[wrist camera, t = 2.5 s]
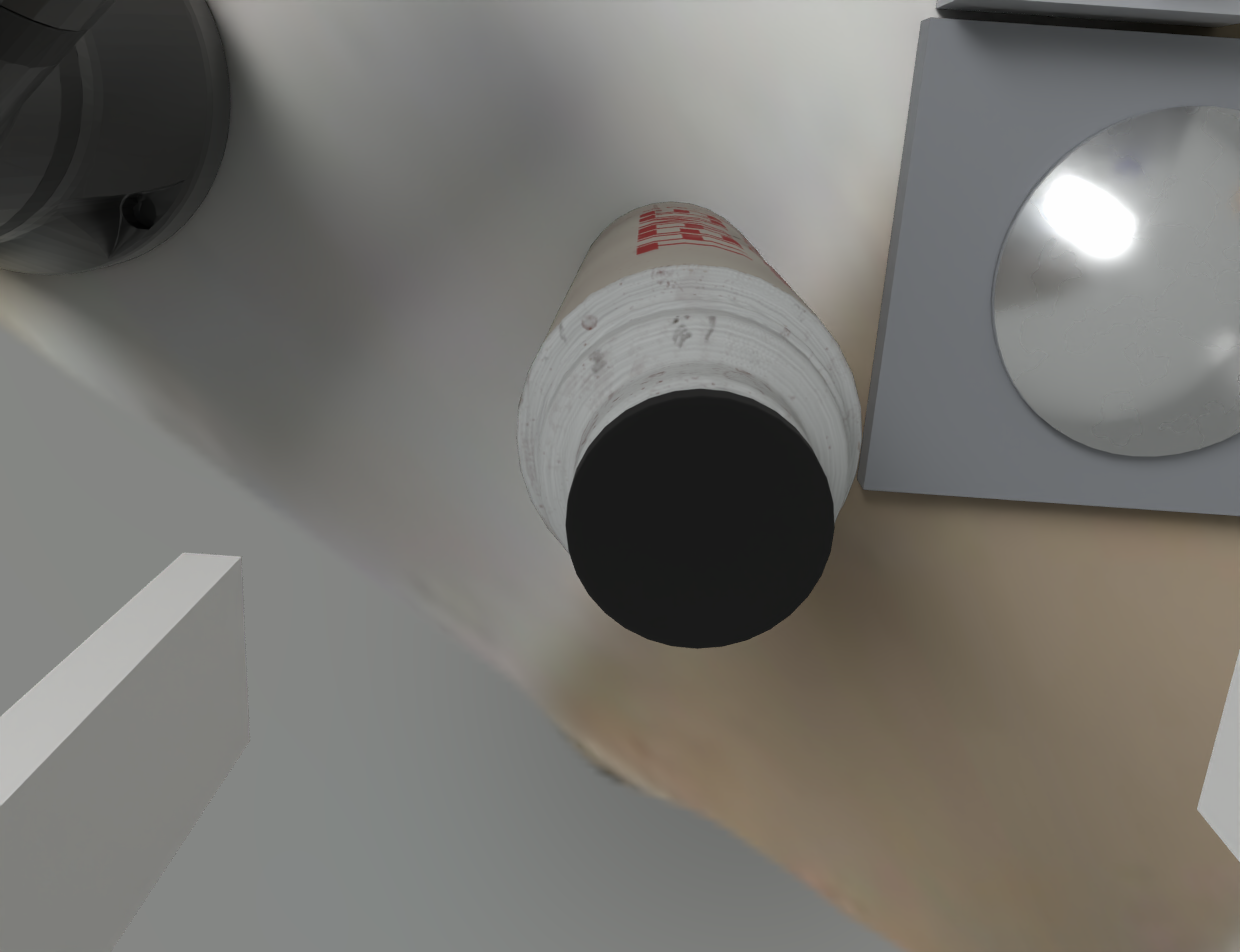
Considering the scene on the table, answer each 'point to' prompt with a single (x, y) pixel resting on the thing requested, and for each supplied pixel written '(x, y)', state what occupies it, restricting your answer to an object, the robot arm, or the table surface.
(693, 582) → the thermos bottle
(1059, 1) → the desk organizer
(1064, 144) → the rosette base
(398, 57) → the table surface
